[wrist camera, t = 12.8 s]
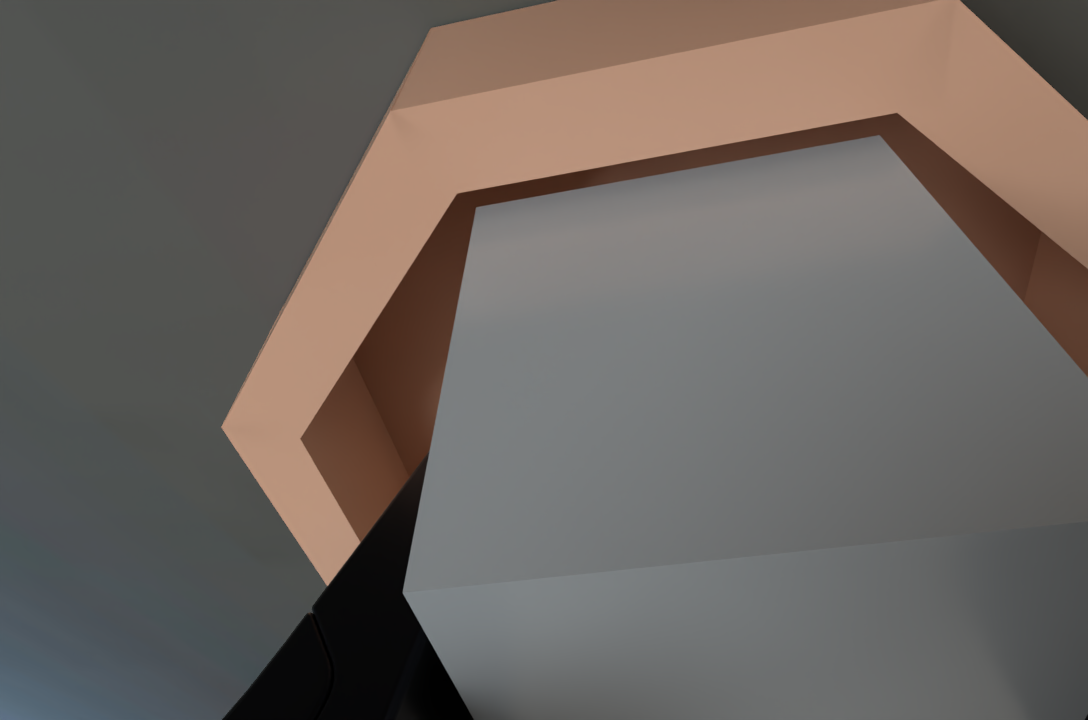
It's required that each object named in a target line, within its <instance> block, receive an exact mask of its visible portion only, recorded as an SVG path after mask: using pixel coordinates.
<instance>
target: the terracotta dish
mask: <svg viewBox="0 0 1088 720" xmlns="http://www.w3.org/2000/svg"><path fill="white" fill-rule="evenodd" d="M877 135H880V136H881V137H882V138H883V140H884V141H885V142H886V143H887V144H888V145H889V147H890V148H891V149H892V150H893V151H894V152H895V154H896V155H897V156H898V157H899V158H900V159H901V161H902V162H903V163H904V164H905V165H906V166H907V168H908V169H909V170H910V171H911V172H912V173H913V175H914V176H915V177H916V178H917V179H918V180H919V182H920V183H921V184H922V185H923V186H924V187H925V188H926V190H927V191H928V192H929V193H930V194H931V195H932V197H933V198H934V199H935V200H936V201H937V202H938V204H939V205H940V206H941V207H942V208H943V209H944V211H945V212H946V213H947V214H948V215H949V216H950V218H951V219H952V220H953V221H954V222H955V223H956V225H957V226H958V227H959V228H960V229H961V230H962V232H963V233H964V234H965V235H966V236H967V237H968V239H969V240H970V241H971V242H972V243H973V244H974V246H975V247H976V248H977V249H978V250H979V251H980V252H981V254H982V255H983V256H984V257H985V258H986V259H987V261H988V262H989V263H990V264H991V265H992V266H993V268H994V269H995V270H996V271H997V272H998V273H999V275H1000V276H1001V277H1002V278H1003V279H1004V280H1005V282H1006V283H1007V284H1008V285H1009V286H1010V287H1011V289H1012V290H1013V291H1014V292H1015V293H1016V294H1017V296H1018V297H1019V298H1020V299H1021V300H1022V301H1023V303H1024V304H1025V305H1026V306H1027V307H1028V308H1029V310H1030V311H1031V312H1032V313H1033V314H1034V315H1035V317H1036V318H1037V319H1038V320H1039V321H1040V322H1041V323H1042V325H1043V326H1044V327H1045V328H1046V329H1047V330H1048V332H1049V333H1050V334H1051V335H1052V336H1053V337H1054V339H1055V340H1056V341H1057V342H1058V343H1059V344H1060V346H1061V347H1062V348H1063V349H1064V350H1065V351H1066V353H1067V354H1068V355H1069V356H1070V357H1071V358H1072V360H1073V361H1074V362H1075V363H1076V364H1077V365H1078V367H1079V368H1080V369H1081V370H1082V371H1083V372H1084V374H1085V375H1086V376H1087V377H1088V120H1087V119H1086V118H1085V117H1084V116H1083V115H1081V114H1080V113H1079V112H1078V111H1077V110H1076V109H1075V108H1074V107H1073V106H1072V105H1071V104H1070V103H1069V102H1068V101H1067V100H1065V99H1064V98H1063V97H1062V96H1061V95H1060V94H1059V93H1058V92H1057V91H1056V90H1055V89H1054V88H1053V87H1052V86H1051V85H1049V84H1048V83H1047V82H1046V81H1045V80H1044V79H1043V78H1042V77H1041V76H1040V75H1039V74H1038V73H1037V72H1036V71H1035V70H1033V69H1032V68H1031V67H1030V66H1029V65H1028V64H1027V63H1026V62H1025V61H1024V60H1023V59H1022V58H1021V57H1020V56H1019V55H1017V54H1016V53H1015V52H1014V51H1013V50H1012V49H1011V48H1010V47H1009V46H1008V45H1007V44H1006V43H1005V42H1004V41H1003V40H1001V39H1000V38H999V37H998V36H997V35H996V34H995V33H994V32H993V31H992V30H991V29H990V28H989V27H988V26H987V25H985V24H984V23H983V22H982V21H981V20H980V19H979V18H978V17H977V16H976V15H975V14H974V13H973V12H972V11H971V10H969V9H968V8H967V7H966V6H965V5H964V4H963V3H962V2H961V1H960V0H558V1H553V2H549V3H544V4H540V5H535V6H530V7H526V8H521V9H517V10H512V11H507V12H503V13H498V14H494V15H489V16H484V17H480V18H475V19H471V20H466V21H461V22H457V23H452V24H447V25H443V26H438V27H434V28H430V30H429V32H428V34H427V36H426V38H425V40H424V42H423V44H422V46H421V48H420V50H419V52H418V54H417V55H416V57H415V59H414V61H413V63H412V65H411V67H410V69H409V71H408V72H407V74H406V76H405V78H404V80H403V82H402V84H401V86H400V87H399V89H398V91H397V93H396V95H395V97H394V99H393V101H392V103H391V104H390V106H389V108H388V110H387V112H386V114H385V116H384V118H383V120H382V121H381V123H380V125H379V127H378V129H377V131H376V133H375V135H374V136H373V138H372V140H371V142H370V144H369V146H368V148H367V150H366V152H365V153H364V155H363V157H362V159H361V161H360V163H359V165H358V167H357V168H356V170H355V172H354V174H353V176H352V178H351V180H350V182H349V184H348V185H347V187H346V189H345V191H344V193H343V195H342V197H341V199H340V201H339V202H338V204H337V206H336V208H335V210H334V212H333V214H332V216H331V217H330V219H329V221H328V223H327V225H326V227H325V229H324V231H323V233H322V234H321V236H320V238H319V240H318V242H317V244H316V246H315V248H314V250H313V251H312V253H311V255H310V257H309V259H308V261H307V263H306V265H305V266H304V268H303V270H302V272H301V274H300V276H299V278H298V280H297V282H296V283H295V285H294V287H293V289H292V291H291V293H290V295H289V297H288V298H287V300H286V302H285V304H284V305H283V307H282V309H281V311H280V313H279V315H278V317H277V319H276V321H275V323H274V325H273V327H272V329H271V331H270V333H269V335H268V337H267V339H266V341H265V343H264V345H263V346H262V348H261V350H260V352H259V354H258V356H257V358H256V360H255V362H254V364H253V366H252V368H251V370H250V372H249V374H248V376H247V378H246V380H245V382H244V384H243V386H242V388H241V390H240V391H239V393H238V395H237V397H236V399H235V401H234V403H233V405H232V407H231V409H230V411H229V413H228V415H227V417H226V419H225V421H224V423H223V425H222V427H221V428H222V429H223V431H224V432H225V434H226V435H227V437H228V438H229V440H230V441H231V443H232V444H233V446H234V447H235V449H236V450H237V452H238V453H239V455H240V456H241V457H242V459H243V460H244V462H245V463H246V465H247V466H248V468H249V469H250V471H251V472H252V474H253V475H254V477H255V478H256V480H257V481H258V483H259V484H260V486H261V487H262V489H263V490H264V492H265V493H266V495H267V496H268V498H269V499H270V501H271V502H272V504H273V505H274V507H275V508H276V510H277V511H278V513H279V514H280V516H281V517H282V519H283V520H284V522H285V523H286V525H287V526H288V528H289V529H290V531H291V532H292V534H293V535H294V537H295V538H296V540H297V541H298V543H299V544H300V546H301V547H302V549H303V550H304V552H305V553H306V555H307V556H308V558H309V559H310V561H311V562H312V564H313V565H314V567H315V568H316V570H317V571H318V573H319V574H320V576H321V577H322V579H323V580H324V582H325V583H326V585H327V586H328V585H329V584H330V582H331V581H332V580H333V578H334V577H335V576H336V574H337V573H338V572H339V570H340V569H341V568H342V566H343V565H344V564H345V562H346V561H347V560H348V558H349V557H350V556H351V554H352V553H353V552H354V550H355V549H356V548H357V546H358V545H359V544H360V542H361V541H362V540H363V538H364V537H365V536H366V534H367V533H368V532H369V530H370V529H371V528H372V526H373V525H374V524H375V522H376V521H377V520H378V518H379V517H380V516H381V514H382V513H383V512H384V510H385V509H386V508H387V506H388V505H389V504H390V502H391V501H392V500H393V498H394V497H395V496H396V494H397V493H398V492H399V490H400V489H401V488H402V486H403V485H404V484H405V482H406V481H407V480H408V478H409V477H410V476H411V474H412V473H413V472H414V470H415V469H416V468H417V466H418V465H419V464H420V462H421V461H422V460H423V458H424V457H425V456H426V454H427V453H428V452H429V450H430V447H431V441H432V436H433V431H434V426H435V420H436V415H437V410H438V405H439V400H440V394H441V389H442V384H443V379H444V373H445V368H446V363H447V358H448V353H449V347H450V342H451V337H452V332H453V326H454V321H455V316H456V311H457V305H458V300H459V295H460V290H461V285H462V279H463V274H464V269H465V264H466V258H467V253H468V248H469V243H470V237H471V232H472V227H473V222H474V217H475V211H476V207H481V206H486V205H492V204H497V203H503V202H509V201H514V200H520V199H525V198H531V197H536V196H542V195H548V194H553V193H559V192H564V191H570V190H576V189H581V188H587V187H592V186H598V185H604V184H609V183H615V182H620V181H626V180H631V179H637V178H643V177H648V176H654V175H659V174H665V173H671V172H676V171H682V170H687V169H693V168H699V167H704V166H710V165H715V164H721V163H726V162H732V161H738V160H743V159H749V158H754V157H760V156H766V155H771V154H777V153H782V152H788V151H794V150H799V149H805V148H810V147H816V146H821V145H827V144H833V143H838V142H844V141H849V140H855V139H861V138H866V137H872V136H877Z"/></svg>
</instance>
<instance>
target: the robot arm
mask: <svg viewBox="0 0 1088 720" xmlns="http://www.w3.org/2000/svg"><path fill="white" fill-rule="evenodd" d="M429 452H430V450H429ZM429 452H428V453H427V454H426V456H425V457H424V458H423V460H422V461H421V462H420V464H419V465H418V466H417V468H416V469H415V470H414V472H413V473H412V474H411V476H410V477H409V478H408V480H407V481H406V482H405V484H404V485H403V486H402V488H401V489H400V490H399V492H398V493H397V494H396V496H395V497H394V498H393V500H392V501H391V502H390V504H389V505H388V506H387V508H386V509H385V510H384V512H383V513H382V514H381V516H380V517H379V518H378V520H377V521H376V522H375V524H374V525H373V526H372V528H371V529H370V530H369V532H368V533H367V534H366V536H365V537H364V538H363V540H362V541H361V542H360V544H359V545H358V546H357V548H356V549H355V550H354V552H353V553H352V554H351V556H350V557H349V558H348V560H347V561H346V562H345V564H344V565H343V566H342V568H341V569H340V570H339V572H338V573H337V574H336V576H335V577H334V578H333V580H332V581H331V582H330V584H329V585H328V586H327V588H326V589H325V590H324V592H323V593H322V594H321V596H320V597H319V598H318V600H317V601H316V602H315V604H314V605H313V606H312V611H313V613H307V614H306V615H305V616H304V618H303V619H302V620H301V622H300V623H299V624H298V626H297V627H296V628H295V630H294V631H293V632H292V634H291V635H290V636H289V638H288V639H287V640H286V642H285V643H284V644H283V646H282V647H281V648H280V649H279V651H278V652H277V653H276V655H275V656H274V657H273V658H272V660H271V661H270V662H269V663H268V665H267V666H266V667H265V668H264V670H263V671H262V672H261V674H260V675H259V676H258V677H257V679H256V680H255V681H254V682H253V684H252V685H251V686H250V688H249V689H248V690H247V691H246V692H245V693H244V695H243V696H242V697H241V698H240V699H239V700H238V702H237V703H236V704H235V705H234V706H233V707H232V709H231V710H230V711H229V712H228V713H227V714H226V716H225V717H224V718H223V719H222V720H474V719H473V717H472V715H471V713H470V712H469V710H468V708H467V706H466V705H465V703H464V701H463V699H462V697H461V696H460V694H459V692H458V690H457V689H456V687H455V685H454V683H453V682H452V680H451V678H450V676H449V674H448V673H447V671H446V669H445V667H444V666H443V664H442V662H441V660H440V658H439V657H438V655H437V653H436V651H435V650H434V648H433V646H432V644H431V642H430V641H429V639H428V637H427V635H426V634H425V632H424V630H423V628H422V626H421V625H420V623H419V621H418V619H417V618H416V616H415V614H414V612H413V610H412V609H411V607H410V605H409V603H408V602H407V600H406V598H405V596H404V595H403V588H404V583H405V577H406V572H407V567H408V562H409V556H410V551H411V546H412V541H413V535H414V530H415V525H416V520H417V515H418V509H419V504H420V499H421V494H422V488H423V483H424V478H425V473H426V468H427V462H428V457H429ZM1085 720H1088V714H1087V716H1086V718H1085Z"/></svg>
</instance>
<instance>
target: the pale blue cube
mask: <svg viewBox="0 0 1088 720" xmlns="http://www.w3.org/2000/svg"><path fill="white" fill-rule="evenodd" d="M403 595H404V596H405V598H406V600H407V602H408V603H409V605H410V607H411V609H412V610H413V612H414V614H415V616H416V618H417V619H418V621H419V623H420V625H421V626H422V628H423V630H424V632H425V634H426V635H427V637H428V639H429V641H430V642H431V644H432V646H433V648H434V650H435V651H436V653H437V655H438V657H439V658H440V660H441V662H442V664H443V666H444V667H445V669H446V671H447V673H448V674H449V676H450V678H451V680H452V682H453V683H454V685H455V687H456V689H457V690H458V692H459V694H460V696H461V697H462V699H463V701H464V703H465V705H466V706H467V708H468V710H469V712H470V713H471V715H472V717H473V719H474V720H1085V718H1086V716H1087V714H1088V377H1087V376H1086V375H1085V374H1084V372H1083V371H1082V370H1081V369H1080V368H1079V367H1078V365H1077V364H1076V363H1075V362H1074V361H1073V360H1072V358H1071V357H1070V356H1069V355H1068V354H1067V353H1066V351H1065V350H1064V349H1063V348H1062V347H1061V346H1060V344H1059V343H1058V342H1057V341H1056V340H1055V339H1054V337H1053V336H1052V335H1051V334H1050V333H1049V332H1048V330H1047V329H1046V328H1045V327H1044V326H1043V325H1042V323H1041V322H1040V321H1039V320H1038V319H1037V318H1036V317H1035V315H1034V314H1033V313H1032V312H1031V311H1030V310H1029V308H1028V307H1027V306H1026V305H1025V304H1024V303H1023V301H1022V300H1021V299H1020V298H1019V297H1018V296H1017V294H1016V293H1015V292H1014V291H1013V290H1012V289H1011V287H1010V286H1009V285H1008V284H1007V283H1006V282H1005V280H1004V279H1003V278H1002V277H1001V276H1000V275H999V273H998V272H997V271H996V270H995V269H994V268H993V266H992V265H991V264H990V263H989V262H988V261H987V259H986V258H985V257H984V256H983V255H982V254H981V252H980V251H979V250H978V249H977V248H976V247H975V246H974V244H973V243H972V242H971V241H970V240H969V239H968V237H967V236H966V235H965V234H964V233H963V232H962V230H961V229H960V228H959V227H958V226H957V225H956V223H955V222H954V221H953V220H952V219H951V218H950V216H949V215H948V214H947V213H946V212H945V211H944V209H943V208H942V207H941V206H940V205H939V204H938V202H937V201H936V200H935V199H934V198H933V197H932V195H931V194H930V193H929V192H928V191H927V190H926V188H925V187H924V186H923V185H922V184H921V183H920V182H919V180H918V179H917V178H916V177H915V176H914V175H913V173H912V172H911V171H910V170H909V169H908V168H907V166H906V165H905V164H904V163H903V162H902V161H901V159H900V158H899V157H898V156H897V155H896V154H895V152H894V151H893V150H892V149H891V148H890V147H889V145H888V144H887V143H886V142H885V141H884V140H883V138H882V137H881V136H880V135H877V136H872V137H866V138H861V139H855V140H849V141H844V142H838V143H833V144H827V145H821V146H816V147H810V148H805V149H799V150H794V151H788V152H782V153H777V154H771V155H766V156H760V157H754V158H749V159H743V160H738V161H732V162H726V163H721V164H715V165H710V166H704V167H699V168H693V169H687V170H682V171H676V172H671V173H665V174H659V175H654V176H648V177H643V178H637V179H631V180H626V181H620V182H615V183H609V184H604V185H598V186H592V187H587V188H581V189H576V190H570V191H564V192H559V193H553V194H548V195H542V196H536V197H531V198H525V199H520V200H514V201H509V202H503V203H497V204H492V205H486V206H481V207H476V211H475V217H474V222H473V227H472V232H471V237H470V243H469V248H468V253H467V258H466V264H465V269H464V274H463V279H462V285H461V290H460V295H459V300H458V305H457V311H456V316H455V321H454V326H453V332H452V337H451V342H450V347H449V353H448V358H447V363H446V368H445V373H444V379H443V384H442V389H441V394H440V400H439V405H438V410H437V415H436V420H435V426H434V431H433V436H432V441H431V447H430V452H429V457H428V462H427V468H426V473H425V478H424V483H423V488H422V494H421V499H420V504H419V509H418V515H417V520H416V525H415V530H414V535H413V541H412V546H411V551H410V556H409V562H408V567H407V572H406V577H405V583H404V588H403Z"/></svg>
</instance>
